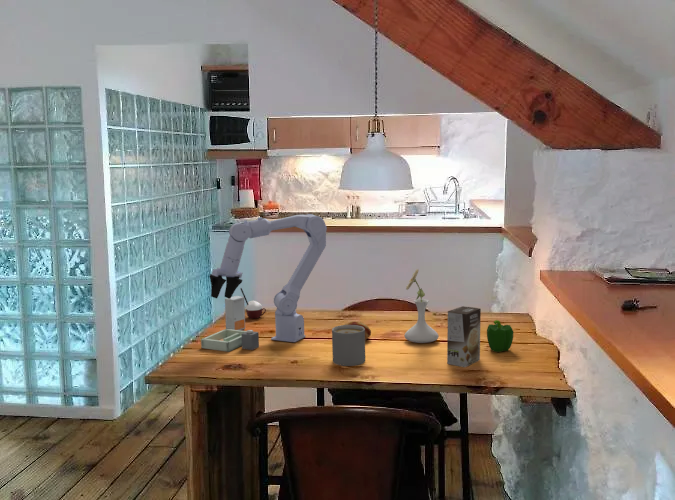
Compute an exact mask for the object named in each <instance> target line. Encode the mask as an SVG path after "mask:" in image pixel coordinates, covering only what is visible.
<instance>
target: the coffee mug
mask: <svg viewBox="0 0 675 500" xmlns="http://www.w3.org/2000/svg"><path fill="white" fill-rule="evenodd" d="M331 343H332V350H331V351H332V363H333V364H334V365H337V366H343V367H345V366H346V367H353V366H360V365H362V364H364V363H365V362H366V340H365V328H364V327H362V326H358V325H344V324H343V325H342V324H341V325H337V326H334V327H332V328H331Z"/></svg>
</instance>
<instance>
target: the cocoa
mask: <svg viewBox="0 0 675 500" xmlns="http://www.w3.org/2000/svg"><path fill="white" fill-rule="evenodd" d="M240 292H241V294H242V297H244V302H245V303H246V305H245V313H246V315H247V317H248V318H249V319H251V320H257V319H259V318H261V317H262V316H263V315H265V313H266V312H267V310H266V308H265V307H264V308H263V305H262V304H261V303H260V302H258V301H257V300H250V301H248V300H247V297H246V295H245V293H244V291H243V288H242V287H240ZM263 310H264V311H263Z"/></svg>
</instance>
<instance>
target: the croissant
mask: <svg viewBox="0 0 675 500" xmlns="http://www.w3.org/2000/svg"><path fill="white" fill-rule="evenodd" d="M343 325H358V326H362V327H364V328H365V341H366V340H367V339H368V338H369V337H371V335H372V330H371V329H370V327H369V326H368V325H367V324H365V323H363V322H361V321H357V320H355V321H348V322H347V323H344V324H343Z"/></svg>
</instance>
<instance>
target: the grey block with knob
mask: <svg viewBox="0 0 675 500" xmlns="http://www.w3.org/2000/svg"><path fill="white" fill-rule="evenodd" d="M246 331H247V332H245V333H243V334H241V336H242V346H241V349H242V350H249V351H254V350H255V349H257V348H259V347H260V340H259V332H258V331H254V330H253V329H247V330H246Z"/></svg>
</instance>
